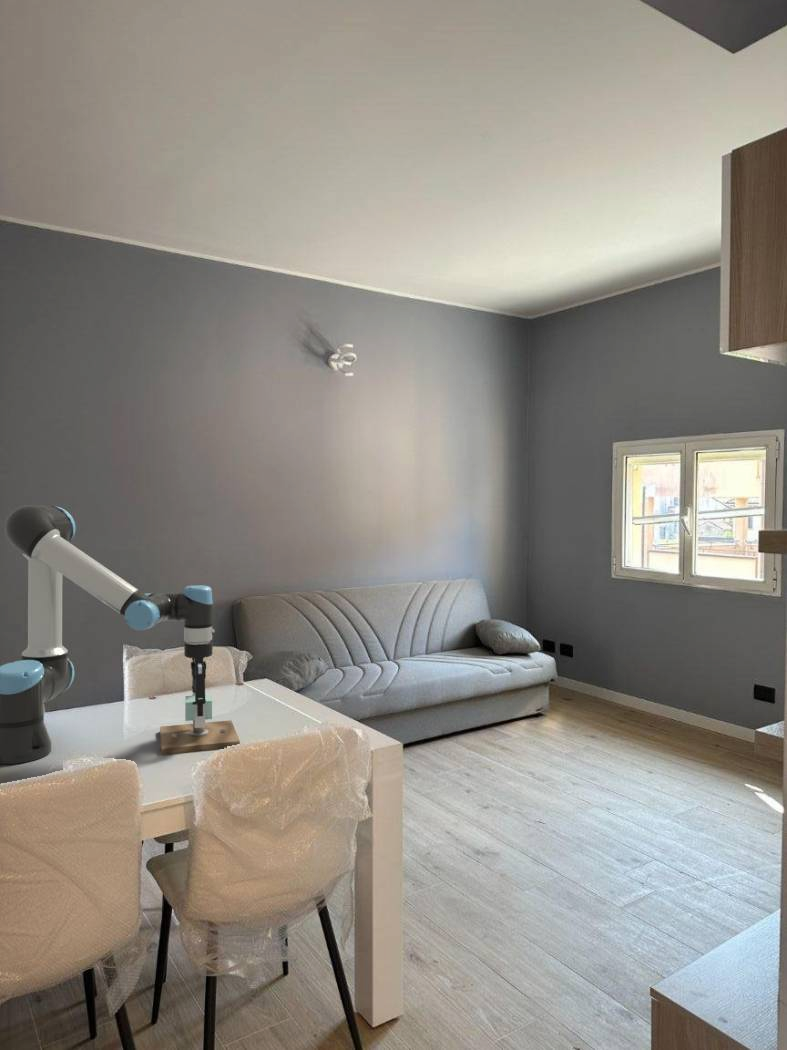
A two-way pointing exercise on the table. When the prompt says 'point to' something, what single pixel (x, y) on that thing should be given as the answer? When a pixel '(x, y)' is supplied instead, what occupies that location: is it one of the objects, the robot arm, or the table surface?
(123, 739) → the table surface
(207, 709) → the cap
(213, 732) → the walnut base
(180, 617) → the robot arm
